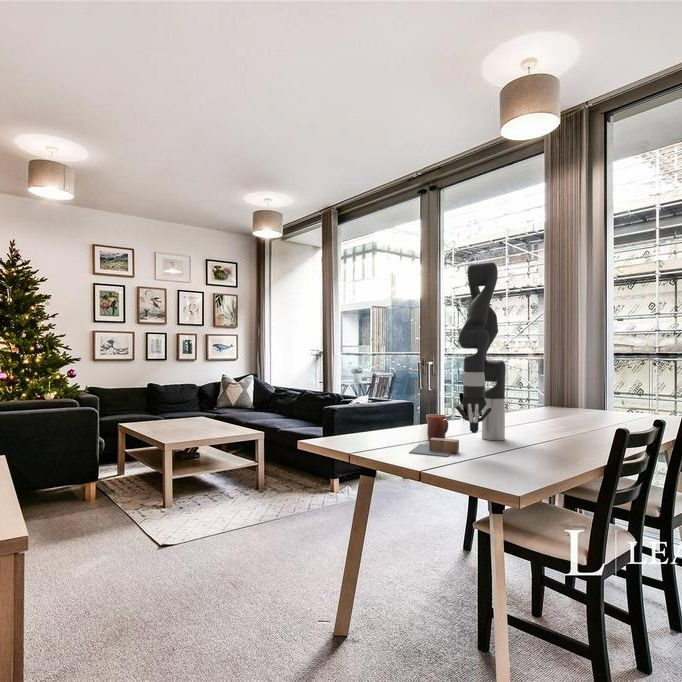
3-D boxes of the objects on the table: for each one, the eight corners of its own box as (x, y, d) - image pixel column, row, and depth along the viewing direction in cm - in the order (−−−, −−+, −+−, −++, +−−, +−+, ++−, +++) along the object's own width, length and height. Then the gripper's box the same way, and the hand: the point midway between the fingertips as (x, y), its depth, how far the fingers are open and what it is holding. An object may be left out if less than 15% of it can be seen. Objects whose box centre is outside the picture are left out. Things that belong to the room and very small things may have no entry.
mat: (419, 444, 183) (419, 443, 183) (456, 448, 178) (456, 447, 178) (409, 453, 169) (409, 452, 169) (447, 456, 163) (447, 455, 163)
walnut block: (458, 450, 171) (431, 448, 175) (458, 439, 171) (431, 437, 175) (456, 452, 168) (429, 450, 172) (456, 441, 168) (429, 439, 172)
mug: (421, 439, 195) (421, 414, 195) (439, 437, 199) (439, 413, 199) (437, 444, 184) (437, 418, 184) (456, 443, 187) (456, 417, 188)
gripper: (494, 384, 168) (494, 432, 168) (457, 383, 174) (457, 429, 174) (492, 385, 162) (492, 436, 161) (453, 384, 167) (453, 433, 167)
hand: (474, 432), depth 167 cm, fingers closed
